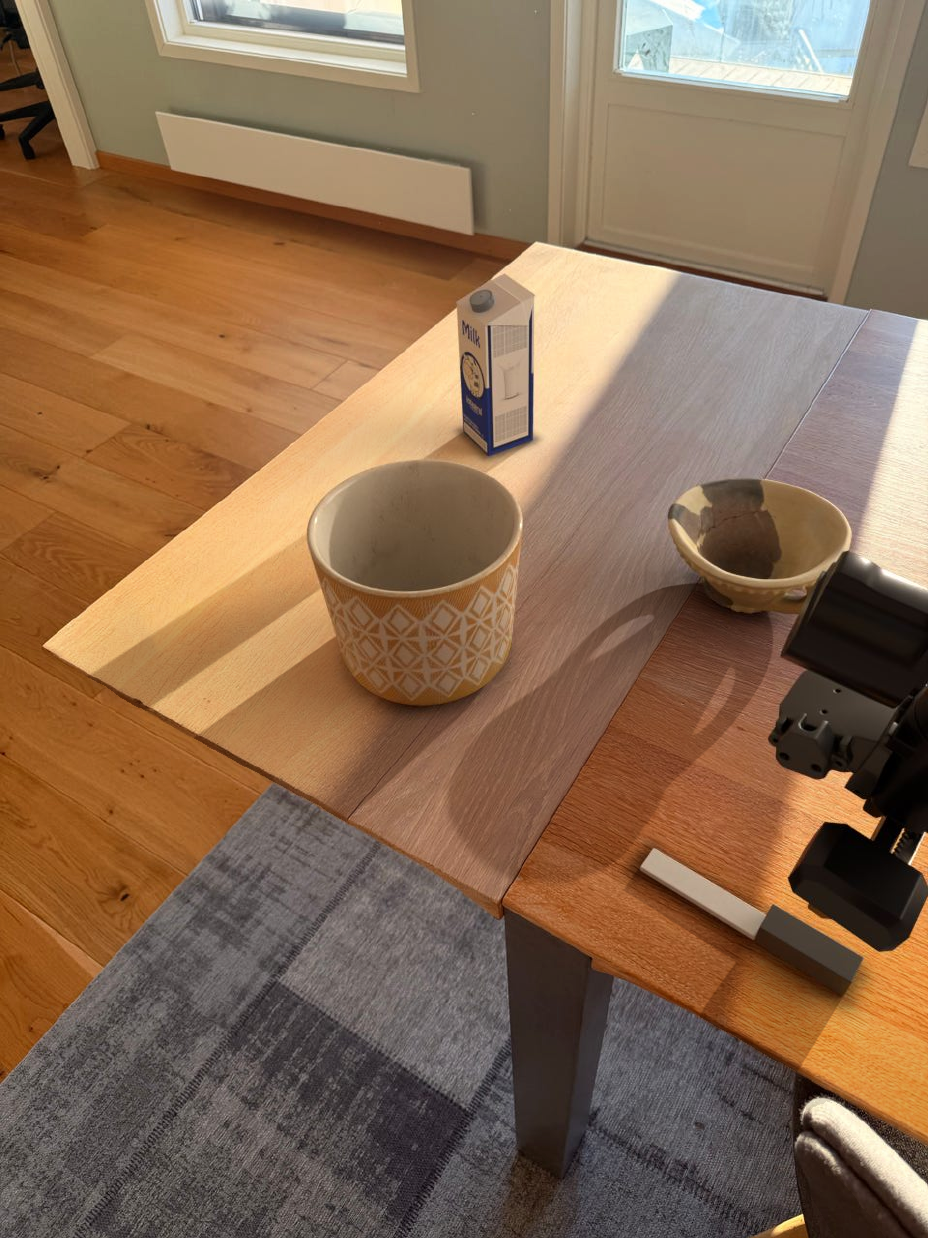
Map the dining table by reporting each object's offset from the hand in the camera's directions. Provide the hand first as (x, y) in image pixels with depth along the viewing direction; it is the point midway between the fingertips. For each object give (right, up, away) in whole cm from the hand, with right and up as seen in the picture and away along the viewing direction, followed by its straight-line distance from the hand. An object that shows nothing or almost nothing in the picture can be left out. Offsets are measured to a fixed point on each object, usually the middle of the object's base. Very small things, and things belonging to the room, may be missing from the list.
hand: (843, 860), depth 59 cm
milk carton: (-20, +40, +60) cm, 75 cm away
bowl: (+5, +19, +37) cm, 42 cm away
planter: (-29, +13, +33) cm, 46 cm away
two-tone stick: (-3, -8, +11) cm, 14 cm away
